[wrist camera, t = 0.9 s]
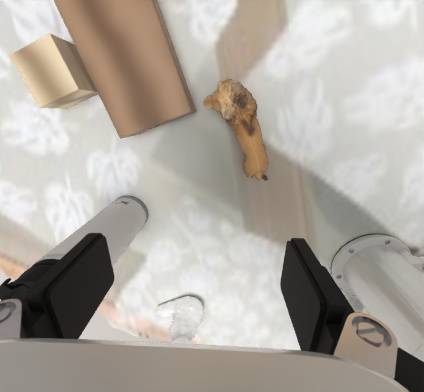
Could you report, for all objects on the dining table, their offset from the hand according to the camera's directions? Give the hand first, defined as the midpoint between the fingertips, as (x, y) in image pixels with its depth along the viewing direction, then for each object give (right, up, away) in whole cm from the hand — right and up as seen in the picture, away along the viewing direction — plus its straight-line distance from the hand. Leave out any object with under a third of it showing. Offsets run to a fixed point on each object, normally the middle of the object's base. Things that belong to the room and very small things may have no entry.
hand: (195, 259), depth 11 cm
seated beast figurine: (-4, -19, +33) cm, 39 cm away
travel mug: (-13, +1, +26) cm, 29 cm away
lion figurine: (+5, +12, +20) cm, 24 cm away
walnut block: (-9, +21, +18) cm, 29 cm away
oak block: (-19, +20, +19) cm, 33 cm away
